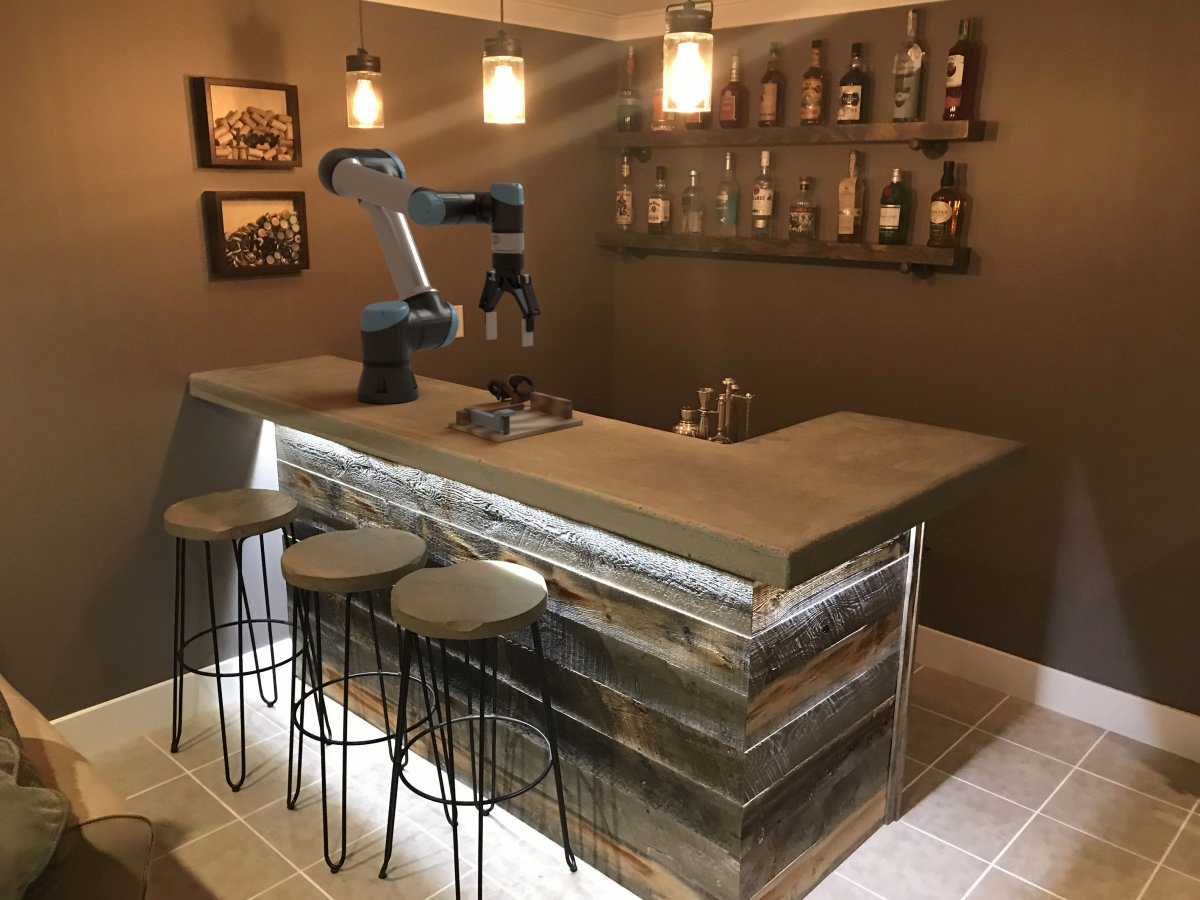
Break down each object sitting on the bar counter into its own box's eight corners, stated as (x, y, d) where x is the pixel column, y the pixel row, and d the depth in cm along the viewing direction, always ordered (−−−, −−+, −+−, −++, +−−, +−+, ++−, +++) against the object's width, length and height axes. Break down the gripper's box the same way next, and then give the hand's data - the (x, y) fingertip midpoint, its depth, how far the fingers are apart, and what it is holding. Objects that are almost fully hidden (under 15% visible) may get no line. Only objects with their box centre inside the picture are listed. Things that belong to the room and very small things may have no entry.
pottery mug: (533, 400, 244) (540, 375, 238) (528, 424, 237) (536, 399, 231) (486, 388, 242) (492, 363, 237) (480, 412, 235) (486, 387, 230)
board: (448, 426, 215) (447, 404, 213) (531, 410, 231) (531, 389, 229) (498, 442, 202) (498, 419, 201) (582, 424, 218) (583, 402, 217)
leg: (515, 432, 205) (515, 411, 204) (505, 434, 203) (504, 413, 202) (473, 418, 216) (472, 398, 215) (462, 419, 215) (462, 399, 213)
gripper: (462, 249, 231) (465, 338, 237) (530, 255, 214) (531, 350, 219) (487, 248, 236) (489, 335, 242) (555, 253, 219) (555, 347, 224)
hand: (509, 342), depth 231 cm, fingers open, 13 cm apart
